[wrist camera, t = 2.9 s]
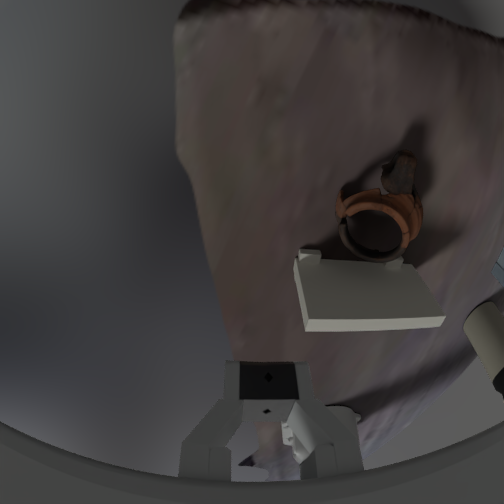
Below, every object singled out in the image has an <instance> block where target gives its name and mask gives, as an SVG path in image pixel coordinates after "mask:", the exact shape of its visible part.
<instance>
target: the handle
mask: <svg viewBox="0 0 504 504" xmlns="http://www.w3.org/2000/svg"><path fill="white" fill-rule="evenodd" d="M491 273H492V274H493V275H494V276H495V278H496V279H497V280H498V281H499V282H500V283H501V285H502V286H503V287H504V247H503V250H502V252H501V254H500V256H499V259H498V261H497V262H496V264H495V266H494V268H493V270H492V272H491Z"/></svg>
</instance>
